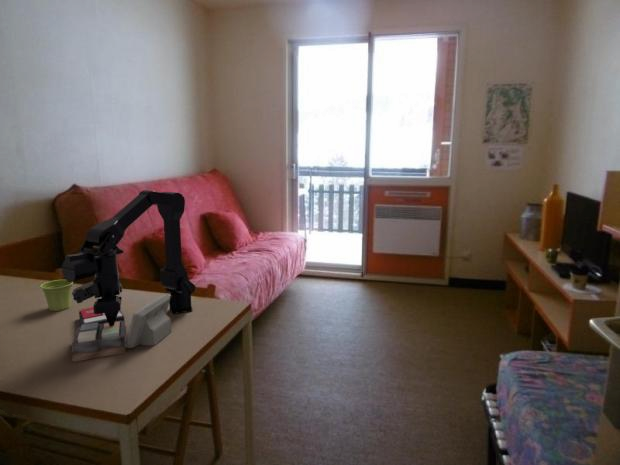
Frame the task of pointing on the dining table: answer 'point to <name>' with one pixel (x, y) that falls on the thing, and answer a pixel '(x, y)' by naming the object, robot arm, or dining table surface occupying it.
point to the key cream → (87, 336)
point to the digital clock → (150, 324)
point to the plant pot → (57, 294)
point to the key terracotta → (117, 324)
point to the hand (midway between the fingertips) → (111, 325)
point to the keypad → (99, 344)
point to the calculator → (95, 317)
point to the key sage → (110, 332)
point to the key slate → (89, 327)
